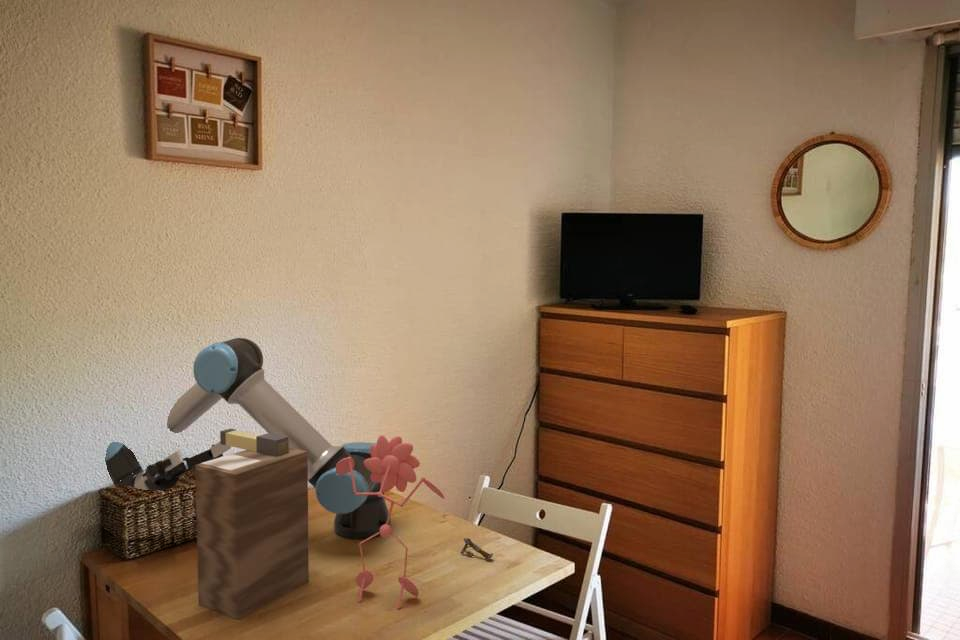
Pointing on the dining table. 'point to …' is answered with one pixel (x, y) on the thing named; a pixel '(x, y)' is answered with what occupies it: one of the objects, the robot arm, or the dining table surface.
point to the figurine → (391, 470)
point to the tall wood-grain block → (251, 529)
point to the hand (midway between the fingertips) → (205, 449)
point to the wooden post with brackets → (477, 549)
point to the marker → (256, 442)
